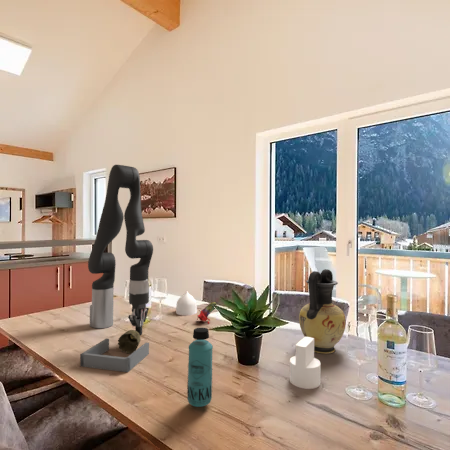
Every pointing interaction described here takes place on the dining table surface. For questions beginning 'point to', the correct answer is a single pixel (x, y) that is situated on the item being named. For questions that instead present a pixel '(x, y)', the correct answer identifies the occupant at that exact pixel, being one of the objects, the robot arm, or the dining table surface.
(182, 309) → the teardrop
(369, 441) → the dining table surface
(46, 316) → the dining table surface
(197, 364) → the beverage bottle
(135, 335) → the cup
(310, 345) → the cylinder with rectangular tab
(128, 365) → the box
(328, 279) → the amphora
